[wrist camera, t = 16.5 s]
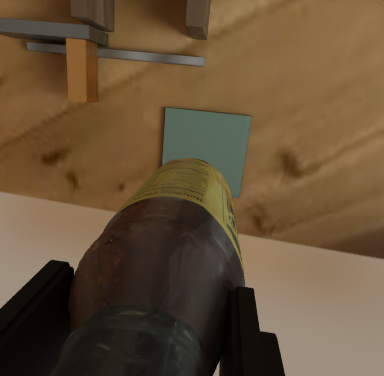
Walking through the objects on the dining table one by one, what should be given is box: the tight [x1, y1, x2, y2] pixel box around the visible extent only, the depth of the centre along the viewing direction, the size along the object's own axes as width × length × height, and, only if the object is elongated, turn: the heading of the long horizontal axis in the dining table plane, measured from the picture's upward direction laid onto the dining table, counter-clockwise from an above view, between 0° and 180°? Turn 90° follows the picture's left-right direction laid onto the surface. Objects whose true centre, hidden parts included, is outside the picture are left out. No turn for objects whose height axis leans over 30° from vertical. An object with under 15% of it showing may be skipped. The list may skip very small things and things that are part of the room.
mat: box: [162, 107, 251, 198], centre depth 36 cm, size 10×10×1 cm
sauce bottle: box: [50, 158, 245, 376], centre depth 13 cm, size 6×6×20 cm
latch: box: [0, 18, 108, 103], centre depth 33 cm, size 11×7×5 cm, turn 85°
